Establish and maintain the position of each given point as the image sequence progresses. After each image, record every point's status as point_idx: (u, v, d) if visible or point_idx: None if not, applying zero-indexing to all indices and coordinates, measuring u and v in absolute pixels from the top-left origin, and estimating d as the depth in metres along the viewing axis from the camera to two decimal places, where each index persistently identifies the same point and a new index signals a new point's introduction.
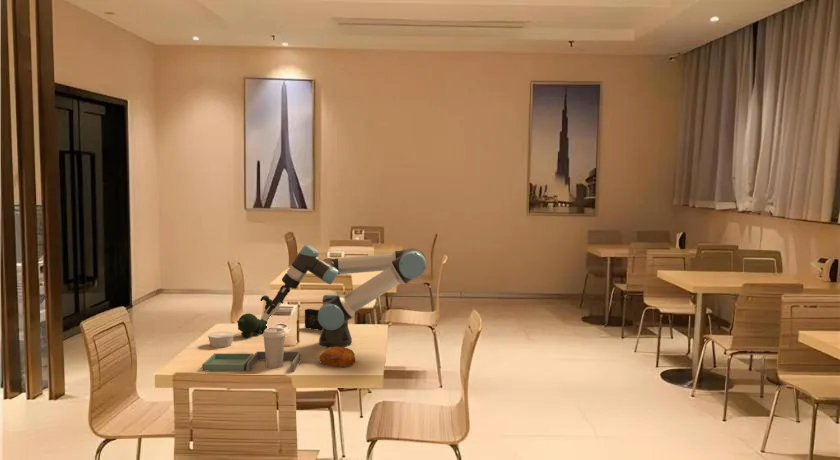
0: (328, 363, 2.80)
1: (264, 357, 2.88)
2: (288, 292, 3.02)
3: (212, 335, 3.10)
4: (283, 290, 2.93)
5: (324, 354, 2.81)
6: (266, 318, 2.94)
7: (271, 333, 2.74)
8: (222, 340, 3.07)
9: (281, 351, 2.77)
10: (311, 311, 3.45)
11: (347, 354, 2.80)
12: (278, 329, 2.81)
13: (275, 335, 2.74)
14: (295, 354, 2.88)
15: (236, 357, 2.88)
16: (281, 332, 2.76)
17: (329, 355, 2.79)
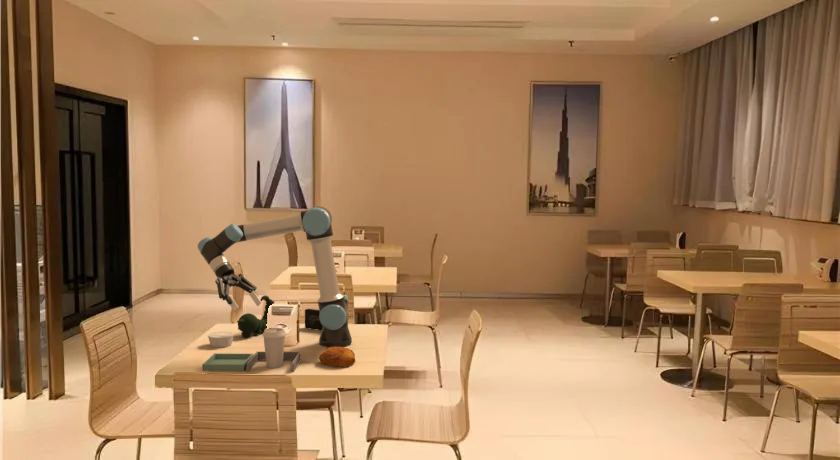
0: (328, 363, 2.80)
1: (264, 357, 2.88)
2: (235, 278, 2.92)
3: (212, 335, 3.10)
4: (217, 280, 2.86)
5: (324, 354, 2.81)
6: (235, 306, 2.81)
7: (271, 333, 2.74)
8: (222, 340, 3.07)
9: (281, 351, 2.77)
10: (311, 311, 3.45)
11: (347, 354, 2.80)
12: (278, 329, 2.81)
13: (275, 335, 2.74)
14: (295, 354, 2.88)
15: (236, 357, 2.88)
16: (281, 332, 2.76)
17: (329, 355, 2.79)
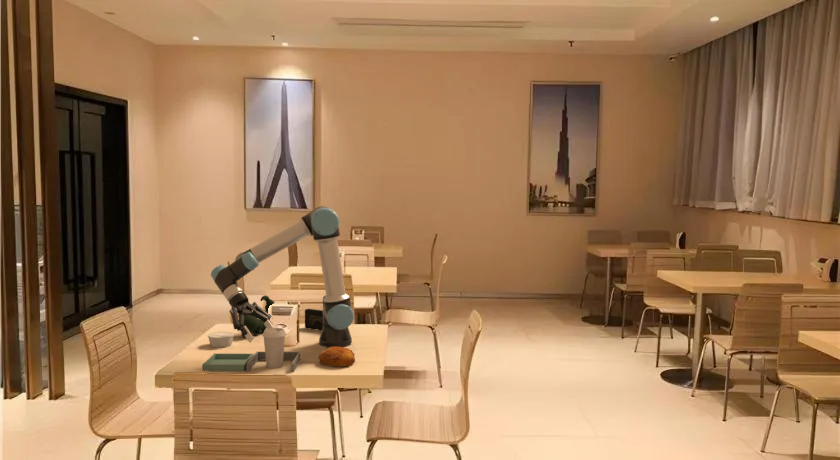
0: (327, 363, 2.80)
1: (264, 357, 2.88)
2: (249, 307, 2.84)
3: (212, 335, 3.10)
4: (231, 310, 2.79)
5: (323, 354, 2.81)
6: (250, 337, 2.74)
7: (271, 333, 2.74)
8: (222, 340, 3.07)
9: (281, 351, 2.77)
10: (311, 311, 3.45)
11: (346, 354, 2.80)
12: (278, 329, 2.81)
13: (275, 335, 2.74)
14: (295, 354, 2.88)
15: (236, 357, 2.88)
16: (281, 332, 2.76)
17: (329, 355, 2.79)
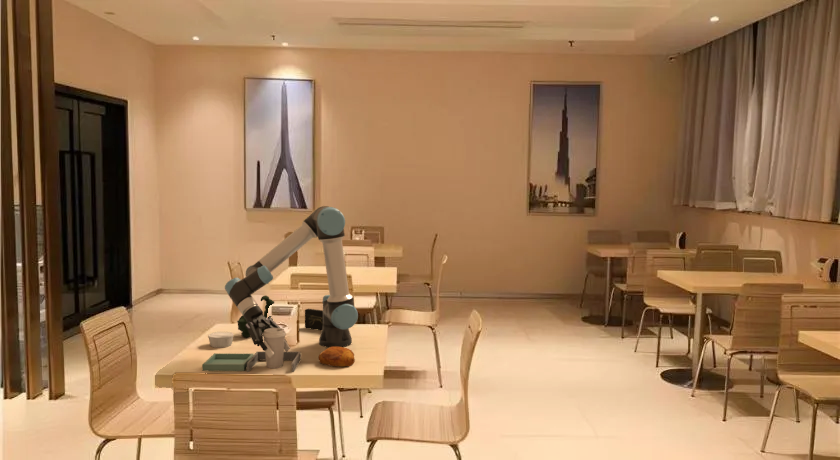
0: (327, 363, 2.80)
1: (264, 357, 2.88)
2: (264, 320, 2.82)
3: (212, 335, 3.10)
4: (247, 325, 2.76)
5: (323, 354, 2.81)
6: (270, 352, 2.73)
7: (271, 333, 2.74)
8: (222, 340, 3.07)
9: (281, 351, 2.77)
10: (311, 311, 3.45)
11: (346, 354, 2.80)
12: (278, 329, 2.81)
13: (275, 335, 2.74)
14: (295, 354, 2.88)
15: (236, 357, 2.88)
16: (281, 332, 2.76)
17: (328, 355, 2.79)
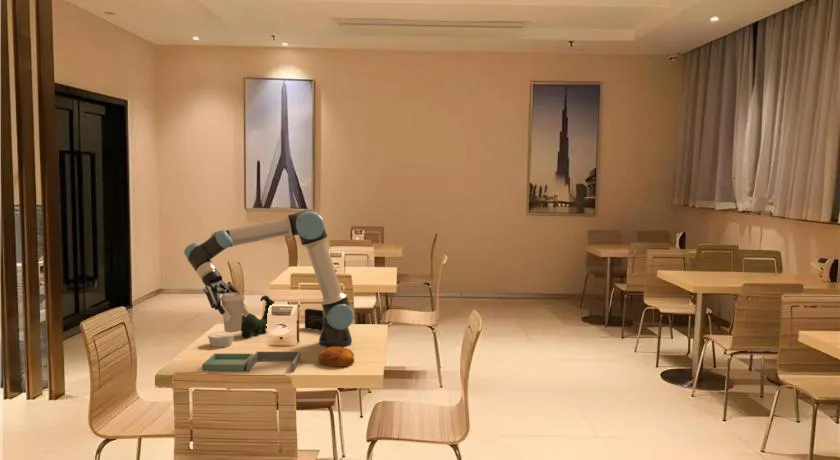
0: (327, 363, 2.80)
1: (264, 357, 2.88)
2: (222, 285, 2.81)
3: (212, 335, 3.10)
4: (205, 289, 2.75)
5: (323, 354, 2.81)
6: (227, 316, 2.72)
7: (229, 297, 2.73)
8: (222, 340, 3.07)
9: (239, 315, 2.76)
10: (311, 311, 3.45)
11: (345, 354, 2.80)
12: (237, 294, 2.80)
13: (233, 299, 2.73)
14: (295, 354, 2.88)
15: (236, 357, 2.88)
16: (239, 296, 2.75)
17: (328, 355, 2.79)
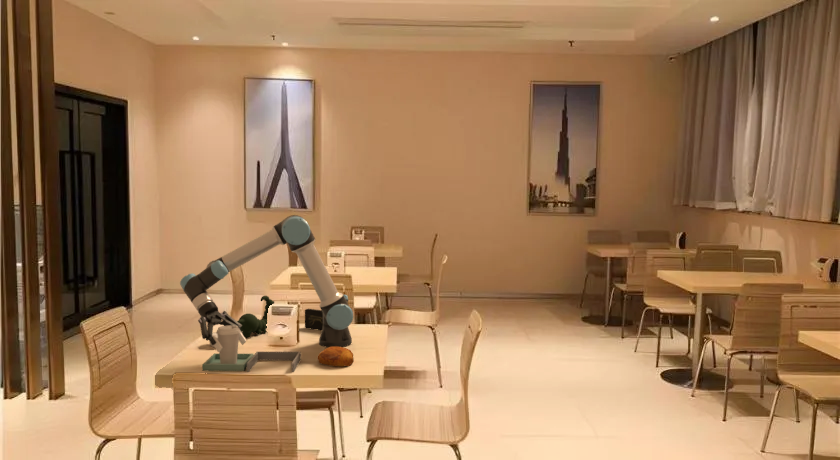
0: (326, 363, 2.80)
1: (264, 357, 2.88)
2: (218, 316, 2.83)
3: (212, 335, 3.10)
4: (200, 320, 2.77)
5: (322, 354, 2.81)
6: (219, 346, 2.72)
7: (224, 330, 2.75)
8: None
9: (235, 348, 2.78)
10: (311, 311, 3.45)
11: (345, 354, 2.80)
12: (233, 327, 2.82)
13: (228, 332, 2.75)
14: (295, 354, 2.88)
15: None
16: (235, 329, 2.77)
17: (327, 355, 2.79)
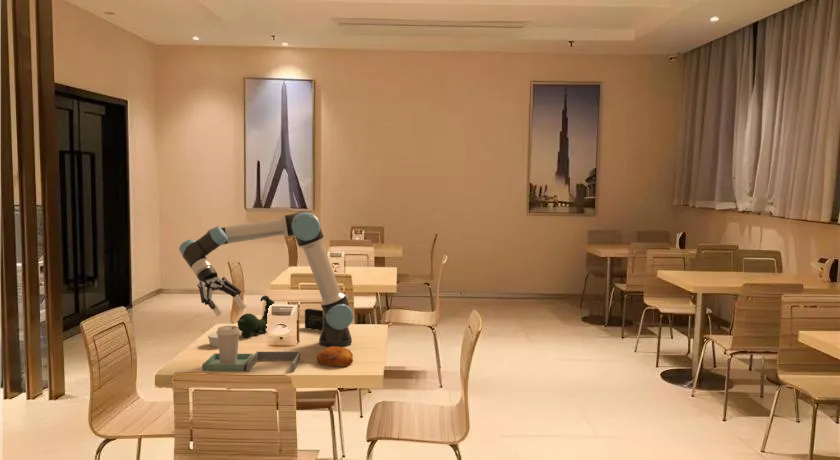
0: (325, 363, 2.80)
1: (264, 357, 2.88)
2: (218, 281, 2.81)
3: (212, 335, 3.10)
4: (199, 284, 2.75)
5: (321, 354, 2.81)
6: (218, 311, 2.71)
7: (224, 331, 2.75)
8: None
9: (235, 349, 2.78)
10: (311, 311, 3.45)
11: (344, 354, 2.80)
12: (232, 327, 2.82)
13: (228, 333, 2.75)
14: (295, 354, 2.88)
15: None
16: (235, 330, 2.77)
17: (326, 355, 2.79)
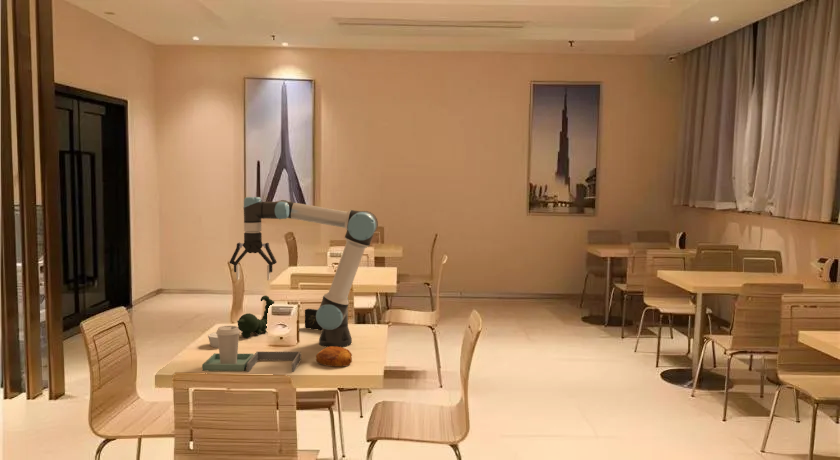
0: (324, 363, 2.80)
1: (264, 357, 2.88)
2: (254, 248, 2.98)
3: (212, 335, 3.10)
4: None
5: (320, 354, 2.81)
6: None
7: (224, 331, 2.75)
8: None
9: (235, 349, 2.78)
10: (311, 311, 3.45)
11: (343, 354, 2.80)
12: (232, 327, 2.82)
13: (228, 333, 2.75)
14: (295, 354, 2.88)
15: None
16: (235, 330, 2.77)
17: (325, 355, 2.79)
